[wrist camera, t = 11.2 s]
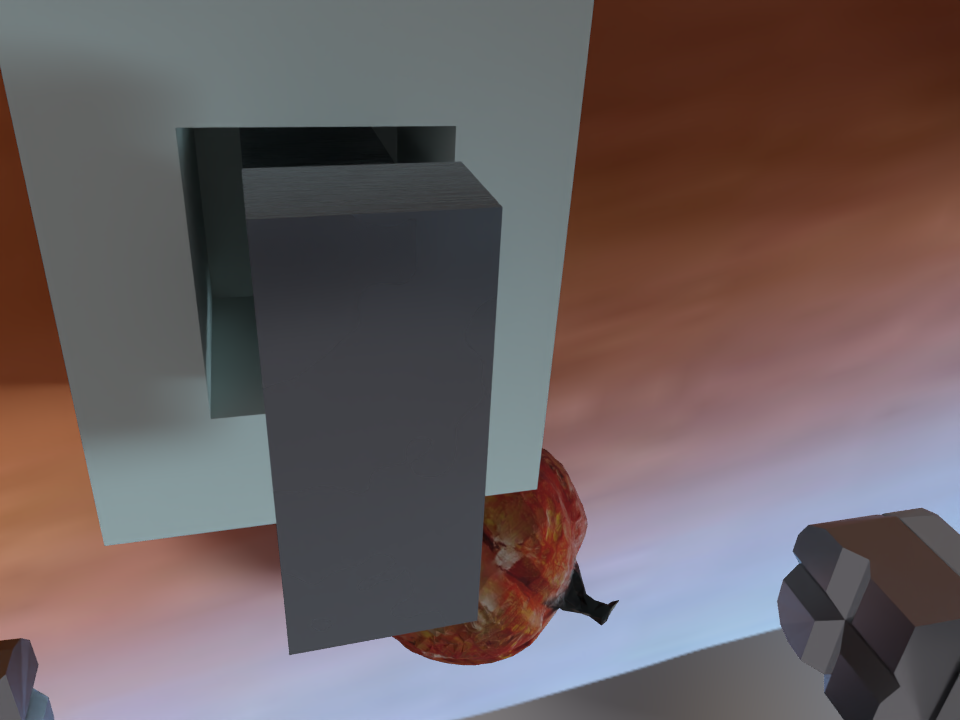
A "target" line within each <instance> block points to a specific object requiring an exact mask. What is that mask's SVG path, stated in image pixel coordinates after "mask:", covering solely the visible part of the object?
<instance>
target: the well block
mask: <svg viewBox="0 0 960 720" xmlns="http://www.w3.org/2000/svg"><path fill="white" fill-rule="evenodd" d="M593 6H594V0H0V68H1V72H2V77H3V81H4V86H5V91H6V95H7V100H8V104H9V109H10V114H11V118H12V123H13V127H14V132H15V137H16V141H17V146H18V150H19V155H20V160H21V164H22V169H23V173H24V178H25V182H26V187H27V192H28V196H29V201H30V205H31V210H32V215H33V219H34V224H35V228H36V233H37V238H38V242H39V247H40V251H41V256H42V261H43V265H44V270H45V274H46V279H47V284H48V288H49V293H50V297H51V302H52V307H53V311H54V316H55V320H56V325H57V330H58V334H59V339H60V343H61V348H62V353H63V357H64V362H65V366H66V371H67V376H68V380H69V385H70V389H71V394H72V399H73V403H74V408H75V412H76V417H77V422H78V426H79V431H80V435H81V440H82V445H83V449H84V454H85V458H86V463H87V468H88V472H89V477H90V481H91V486H92V491H93V495H94V500H95V504H96V509H97V514H98V518H99V523H100V527H101V532H102V537H103V541H104V546H108V545H115V544H123V543H131V542H138V541H146V540H153V539H161V538H169V537H176V536H184V535H192V534H199V533H207V532H215V531H222V530H230V529H238V528H245V527H253V526H260V525H268V524H276V516H275V506H274V496H273V486H272V476H271V466H270V456H269V446H268V436H267V426H266V416H265V406H264V396H263V386H262V376H261V366H260V356H259V346H258V336H257V326H256V316H255V306H254V296H253V286H252V276H251V266H250V256H249V246H248V236H247V226H246V216H245V204H244V192H243V180H242V168H243V166H242V155H241V143H240V132H239V127H372V129H373V130H374V132H375V133H376V135H377V136H378V138H379V139H380V141H381V142H382V144H383V146H384V147H385V149H386V150H387V152H388V153H389V155H390V156H391V158H392V159H393V161H394V162H395V164H397V163H428V162H459V161H461V162H462V163H463V164H464V165H465V166H466V167H467V168H468V169H469V170H470V172H471V173H472V174H473V175H474V176H475V177H476V178H477V179H478V180H479V182H480V183H481V184H482V185H483V186H484V187H485V188H486V189H487V190H488V191H489V193H490V194H491V195H492V196H493V197H494V198H495V199H496V200H497V201H498V203H499V204H500V205H501V206H502V207H503V211H502V227H501V244H500V260H499V276H498V293H497V309H496V326H495V342H494V358H493V375H492V391H491V407H490V424H489V440H488V456H487V473H486V489H485V496H490V495H497V494H505V493H513V492H520V491H528V490H536V489H537V485H538V477H539V468H540V460H541V451H542V442H543V434H544V425H545V417H546V408H547V400H548V391H549V382H550V374H551V365H552V357H553V348H554V340H555V331H556V323H557V314H558V305H559V297H560V288H561V280H562V271H563V263H564V254H565V245H566V237H567V228H568V220H569V211H570V203H571V194H572V186H573V177H574V168H575V160H576V151H577V143H578V134H579V126H580V117H581V108H582V100H583V91H584V83H585V74H586V66H587V57H588V48H589V40H590V31H591V23H592V14H593Z"/></svg>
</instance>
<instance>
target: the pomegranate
mask: <svg viewBox="0 0 960 720" xmlns="http://www.w3.org/2000/svg"><path fill="white" fill-rule="evenodd" d="M586 529H587V518H586V515H585V511H584V508H583V505H582V503H581V501H580V499H579V496H578V494H577V492H576V489H575V487H574V485H573V484H572V482H571V480H570V477H569V475H568V473H567V472H566V470H565V469H564V467H563V465H562V464H561V463H560V462H559V461H557V460H556V459H555V458H554V457H553V456H552V455H551V454H550V453H549V452H548V451H547V450H545V449H543V448H542V451H541V460H540V468H539V477H538V485H537V489H536V490H528V491H520V492H513V493H505V494H497V495H490V496H485V505H484V522H483V538H482V554H481V571H480V587H479V603H478V620H477V621H473V622H467V623H462V624H456V625H451V626H445V627H440V628H434V629H429V630H423V631H418V632H413V633H407V634H402V635H396V636H392V637H394V638H395V639H397V640H398V641H399V642H400V643H401V644H402V645H403V646H404V647H406V648H407V649H409V650H410V651H412V652H414V653H417V654H419V655H422V656H424V657H426V658H428V659H432V660H436V661H440V662H444V663H449V664H458V665H479V664H486V663H493V662H496V661H499V660H503V659H506V658H509V657H511V656H514V655H515V654H517V653H519V652H520V651H522V650H523V649H525V648H526V647H528V646H530V645H531V644H532V643H533V642H534V641H535V639H536V638H537V637H538V635H539V634H540V633H541V631H542V630H543V629H544V628H545V626H546V625H547V624H548V622H549V621H550V620H551V618H552V617H553V616H554V614H555V613H556V611H557V610H558V609H559V608H560V609H562V610H565V611H571V612H576V613H582V614H584V615H587V616H589V617H591V618H592V619H594V620H595V621H596V622H598V623H599V624H600V625H602V624H604V623H605V622H606V621H607V619H608V616H609V615H610V613H611V611H612V610H613V608H614V607H615V606H616V604H617V603H618V601H619V600H617V601H613V602H611V603H609V604H605V603H602V602H599V601H595V600H594V599H592V598H591V597H590V596H588V595H587V594H586V591H585V588H584V584H583V581H582V577H581V573H580V570H579V566H578V563H577V561H576V555H577V553H578V551H579V548H580V546H581V544H582V542H583V539H584V537H585V534H586Z"/></svg>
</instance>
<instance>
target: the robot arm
mask: <svg viewBox="0 0 960 720" xmlns="http://www.w3.org/2000/svg"><path fill="white" fill-rule="evenodd" d="M793 553H794V555H795V556H796V558H797V560H798V562H799V564H798V565H797V566H796V567H795V568H794V569H793V570H792V571H791V572H790V573H789V574H788V575H787V576H786V577H785V578H784V579H783V582H782V586H781V589H780V593H779V597H778V600H777V603H778V610H779V618H780V625H781V627H782V629H783V632H784V634H785V636H786V639H787V641H788V643H789V644H790V645H791V647H792V648H793V650H794V651H795V653H796V654H797V656H798V657H799V659H800V660H801V661H803V662H804V663H806V664H808V665H810V666H811V667H813V668H814V669H816V670H818V671H819V672H821V673H823V674H824V693H825V695H826V696H827V697H828V699H829V700H830V701H831V703H832V704H833V706H834V707H835V708H836V710H837V711H838V713H839V714H840V715H841V717H842V718H843V719H844V720H960V534H958V533H957V532H956V531H955V530H954V529H953V528H952V527H951V526H950V525H948V524H947V523H946V522H945V521H944V520H943V519H942V518H941V517H939V516H938V515H937V514H935V513H933V512H930V511H928V510H926V509H923V508H918V509H911V510H904V511H898V512H891V513H885V514H882V515H871V516H864V517H858V518H851V519H845V520H839V521H832V522H826V523H819V524H813V525H808V526H807V527H806V528H805V529H804V530H803V531H802V532H801V533H800V534H799V535H798V537H797V540H796V543H795V546H794V549H793ZM37 669H38V662H37V659H36V656H35V654H34V651H33V648H32V645H31V643H30V640H27V639H22V638H19V639H10V640H2V641H0V720H54V715H53V711H52V708H51V704H50V701H49V697H47V696H46V695H44V694H42V693H40V692H39V691H37V690H35V689H33V685H34V681H35V677H36V673H37Z"/></svg>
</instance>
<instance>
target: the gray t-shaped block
mask: <svg viewBox="0 0 960 720" xmlns="http://www.w3.org/2000/svg"><path fill="white" fill-rule="evenodd" d="M239 132H240V143H241V155H242V166H243V168H242V180H243V192H244V204H245V216H246V226H247V236H248V246H249V256H250V266H251V276H252V286H253V296H254V306H255V316H256V326H257V336H258V346H259V356H260V366H261V376H262V386H263V396H264V406H265V416H266V426H267V436H268V446H269V456H270V466H271V476H272V486H273V496H274V506H275V516H276V526H277V536H278V546H279V556H280V566H281V575H282V585H283V595H284V605H285V615H286V625H287V635H288V645H289V655H292V654H298V653H303V652H309V651H314V650H320V649H325V648H331V647H336V646H341V645H347V644H352V643H358V642H363V641H369V640H374V639H380V638H385V637H391V636H396V635H402V634H407V633H413V632H418V631H423V630H429V629H434V628H440V627H445V626H451V625H456V624H462V623H467V622H473V621H477V620H478V603H479V587H480V571H481V554H482V538H483V522H484V505H485V489H486V473H487V456H488V440H489V424H490V407H491V391H492V375H493V358H494V342H495V326H496V309H497V293H498V276H499V260H500V244H501V227H502V211H503V207H502V206H501V205H500V204H499V203H498V201H497V200H496V199H495V198H494V197H493V196H492V195H491V194H490V193H489V191H488V190H487V189H486V188H485V187H484V186H483V185H482V184H481V183H480V182H479V180H478V179H477V178H476V177H475V176H474V175H473V174H472V173H471V172H470V170H469V169H468V168H467V167H466V166H465V165H464V164H463V163H462V162H461V161H459V162H428V163H397V164H395V162H394V161H393V159H392V158H391V156H390V155H389V153H388V152H387V150H386V149H385V147H384V146H383V144H382V142H381V141H380V139H379V138H378V136H377V135H376V133H375V132H374V130H373V129H372V127H239Z"/></svg>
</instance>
